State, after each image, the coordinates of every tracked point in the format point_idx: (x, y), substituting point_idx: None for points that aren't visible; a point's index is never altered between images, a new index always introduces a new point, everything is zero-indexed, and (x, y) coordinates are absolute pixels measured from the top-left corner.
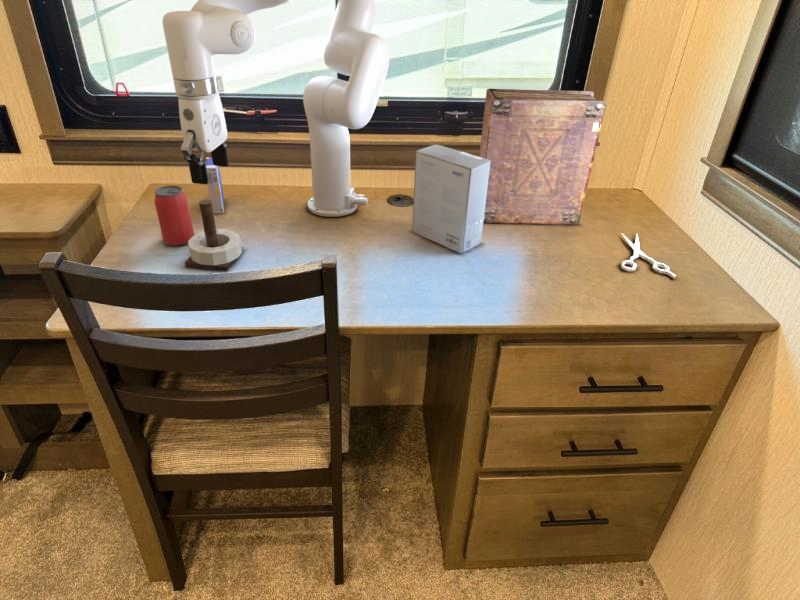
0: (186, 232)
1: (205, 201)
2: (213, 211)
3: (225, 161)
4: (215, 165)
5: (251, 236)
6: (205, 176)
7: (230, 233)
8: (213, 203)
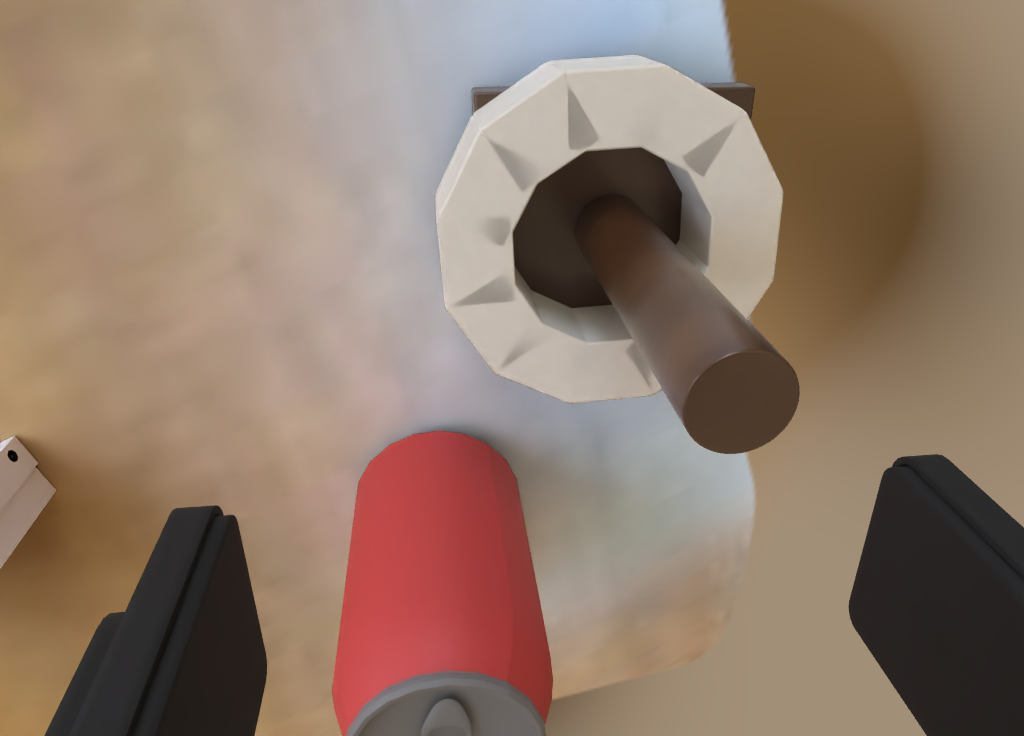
0: (476, 471)
1: (733, 405)
2: (44, 490)
3: (217, 569)
4: (261, 644)
5: (251, 117)
6: (1005, 529)
7: (489, 188)
8: (12, 520)
